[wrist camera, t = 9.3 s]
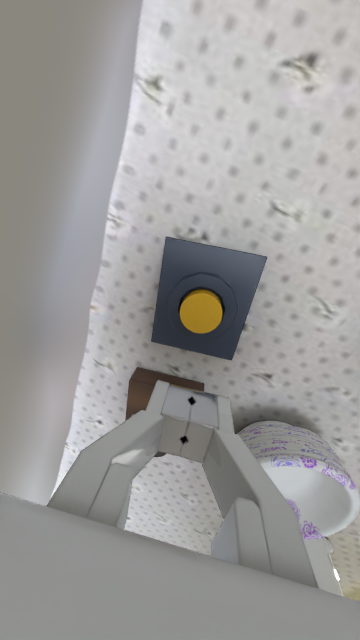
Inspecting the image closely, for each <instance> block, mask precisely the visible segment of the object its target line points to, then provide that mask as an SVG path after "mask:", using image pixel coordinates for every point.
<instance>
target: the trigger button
mask: <svg viewBox="0 0 360 640" xmlns="http://www.w3.org/2000/svg"><path fill="white" fill-rule="evenodd" d="M180 318H181V321H182V323H183V325H184V326H185V327H186V328H187V329H189V330H190V331H192V332H195V333H208V332H210V331H212V330H214V329H215V328H216V327H217V326H218V325H219V324H220V322H221V320H222V307H221V302H220V300H219V298H218V297H217V296H216V295H215V294H214V293H212V292H211V291H208V290H203V289H200V290H195V291H193V292H191V293H189V294H188V295H187V296H186V297H185V299H184V301H183V303H182V305H181V308H180Z"/></svg>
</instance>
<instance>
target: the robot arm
mask: <svg viewBox="0 0 360 640" xmlns="http://www.w3.org/2000/svg"><path fill="white" fill-rule="evenodd" d="M157 451H160V452H164V453H168V454H172V455H176V456H180V457H184V458H187V459H190V460H193V461H197V462H200V463H202V466H203V469H204V471H205V474H206V476H207V479H208V481H209V484H210V486H211V489H212V491H213V494H214V496H215V499H216V501H217V504H218V506H219V509H220V511H221V514H222V516H223V519H224V521H223V523H222V525H221V527H220V529H219V530H218V532H217V534H216V536H215V538H214V540H213V541H212V543H211V556H209V555H205V554H202V553H199V552H196V551H192V550H189V549H186V548H182V547H179V546H176V545H173V544H169V543H166V542H163V541H159V540H156V539H153V538H150V537H146V536H143V535H140V534H136V533H133V532H130V531H127V530H124V527H125V523H126V520H127V514H128V507H129V500H130V494H131V487H132V480H133V479H134V477H135V476H136V475H137V474H138V473H139V472H140V471H141V470H142V469H143V468H144V466H145V465H146V464H147V463H148V462H149V461H150V460H151V459H152V458H153V457H154V455H155V454H156V453H157ZM332 552H333V549H332V546H331V543H330V542H329V541H328V540H327V539H326V538H325V537H323V538H319V539H312V540H303V537H302V534H301V530H300V527H299V524H298V521H297V518H296V515H295V512H294V510H293V509H292V507H291V506H290V505H289V503H288V502H287V500H286V499H285V498H284V496H283V495H282V494H281V492H280V491H279V489H278V488H277V487H276V485H275V484H274V483H273V481H272V480H271V479H270V477H269V476H268V474H267V473H266V472H265V470H264V469H263V468H262V466H261V465H260V464H259V462H258V461H257V459H256V458H255V457H254V455H253V454H252V453H251V451H250V450H249V448H248V447H247V446H246V444H245V443H244V442H243V440H242V439H241V438H240V436H239V435H237V434H235V433H234V426H233V418H232V411H231V404H230V399H229V397H224V396H220V395H215V394H210V393H206V392H202V391H198V390H194V389H190V388H186V387H183V386H179V385H175V384H172V383H167V382H163V381H160V380H158V381H157V382H156V385H155V388H154V390H153V393H152V395H151V398H150V400H149V403H148V406H147V408H146V411H144V410H141V411H139V412H138V413H136V414H135V415H133V416H132V417H130V418H129V419H128V420H126V421H125V422H123V423H122V424H120V425H119V426H117V427H116V428H114V429H113V430H111V431H110V432H108V433H107V434H105V435H104V436H102V437H101V438H99V439H98V440H96V441H95V442H94V443H92V444H91V445H89V446H88V447H86V448H85V449H83V450H82V451H81V452H80V454H79V455H78V457H77V458H76V460H75V462H74V463H73V465H72V466H71V468H70V470H69V471H68V473H67V474H66V476H65V477H64V479H63V481H62V482H61V484H60V485H59V487H58V489H57V490H56V492H55V493H54V495H53V497H52V498H51V500H50V501H49V503H48V505H47V506H44V505H41V504H37V503H34V502H31V501H28V500H24V499H21V498H18V497H15V496H11V495H8V494H5V493H1V492H0V640H360V601H357V600H353V599H350V598H347V597H344V596H343V594H342V591H341V587H340V584H339V581H338V580H339V577H338V574H337V572H336V570H335V569H334V566H333V563H332V560H331V557H330V553H332Z"/></svg>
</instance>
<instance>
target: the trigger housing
mask: <svg viewBox="0 0 360 640" xmlns="http://www.w3.org/2000/svg"><path fill="white" fill-rule="evenodd" d="M266 260H267V257H266V256H261V255H256V254H251V253H246V252H241V251H236V250H231V249H226V248H221V247H216V246H211V245H206V244H201V243H195V242H190V241H185V240H180V239H175V238H170V237H166V239H165V247H164V254H163V261H162V268H161V275H160V282H159V289H158V297H157V304H156V311H155V318H154V325H153V332H152V339H151V342H155V343H160V344H164V345H168V346H172V347H177V348H181V349H185V350H189V351H194V352H198V353H202V354H206V355H211V356H215V357H219V358H223V359H228V360H232V358H233V355H234V353H235V350H236V347H237V344H238V341H239V338H240V335H241V332H242V329H243V326H244V323H245V321H246V318H247V315H248V312H249V309H250V306H251V303H252V300H253V297H254V294H255V292H256V289H257V286H258V283H259V280H260V277H261V274H262V271H263V268H264V265H265V262H266ZM200 289H203V290H208V291H211V292H212V293H214V294H215V295H216V296H217V297H218V298H219V300H220V302H221V307H222V320H221V322H220V324H219V325H218V326H217V327H216V328H215V329H214V330H212V331H210V332H208V333H195V332H192V331H190V330H189V329H187V328H186V327H185V326H184V325H183V323H182V321H181V318H180V308H181V305H182V303H183V301H184V299H185V297H186V296H187V295H188V294H189V293H191V292H193V291H195V290H200Z"/></svg>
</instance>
